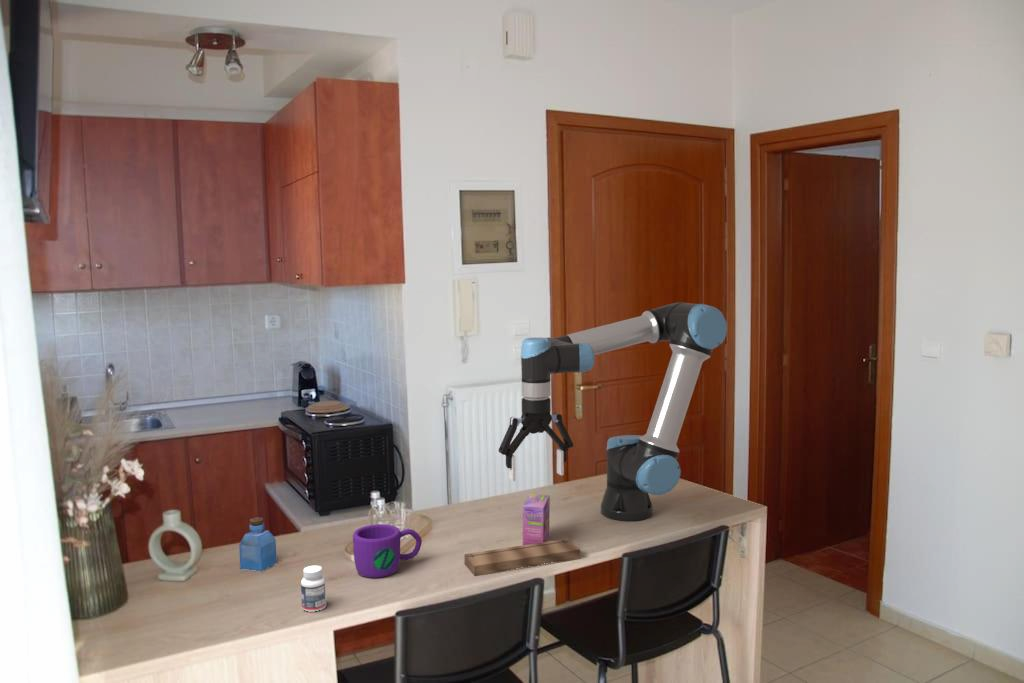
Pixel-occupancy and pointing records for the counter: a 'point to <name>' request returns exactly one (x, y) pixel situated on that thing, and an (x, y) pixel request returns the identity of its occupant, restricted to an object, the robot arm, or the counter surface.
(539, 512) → the box
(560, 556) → the plank
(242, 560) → the perfume bottle
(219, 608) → the counter surface
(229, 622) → the counter surface
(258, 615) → the counter surface
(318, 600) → the pill bottle
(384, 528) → the mug
